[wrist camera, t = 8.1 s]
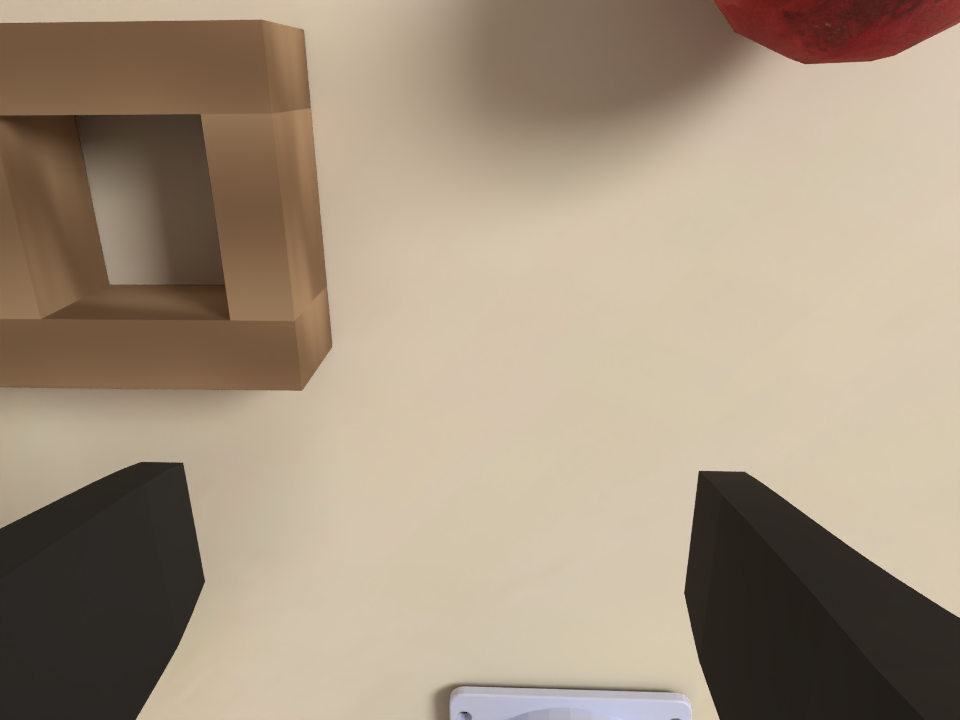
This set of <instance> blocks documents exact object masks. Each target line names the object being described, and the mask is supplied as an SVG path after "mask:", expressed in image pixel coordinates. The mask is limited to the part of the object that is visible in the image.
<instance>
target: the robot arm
mask: <svg viewBox="0 0 960 720" xmlns="http://www.w3.org/2000/svg"><path fill="white" fill-rule="evenodd" d="M204 583H205V579H204V574H203V568H202V563H201V557H200V552H199V547H198V541H197V536H196V530H195V525H194V519H193V514H192V509H191V503H190V498H189V492H188V487H187V482H186V476H185V471H184V465H183V463H166V462H140V463H137V464H135V465H132V466H129V467H127V468H124V469H122V470H119V471H117V472H115V473H113V474H110V475H108V476H106V477H104V478H102V479H100V480H97V481H95V482H93V483H91V484H89V485H87V486H85V487H83V488H81V489H79V490H77V491H75V492H73V493H71V494H69V495H67V496H65V497H63V498H61V499H59V500H57V501H55V502H53V503H51V504H49V505H47V506H45V507H43V508H41V509H39V510H37V511H35V512H33V513H31V514H29V515H27V516H25V517H23V518H21V519H19V520H17V521H15V522H13V523H11V524H9V525H7V526H5V527H3V528H1V529H0V720H136V718H137V716H138V715H139V713H140V711H141V710H142V708H143V706H144V704H145V703H146V701H147V699H148V698H149V696H150V694H151V693H152V691H153V689H154V687H155V686H156V684H157V682H158V680H159V679H160V677H161V675H162V674H163V672H164V670H165V668H166V667H167V665H168V663H169V661H170V660H171V658H172V656H173V654H174V652H175V651H176V649H177V647H178V645H179V643H180V641H181V638H182V636H183V634H184V631H185V629H186V627H187V625H188V622H189V620H190V618H191V615H192V613H193V610H194V608H195V605H196V603H197V600H198V598H199V595H200V593H201V590H202V588H203V585H204ZM684 594H685V599H686V603H687V608H688V613H689V618H690V622H691V627H692V632H693V636H694V640H695V645H696V649H697V653H698V658H699V662H700V665H701V668H702V670H703V673H704V676H705V679H706V682H707V685H708V688H709V691H710V693H711V696H712V699H713V702H714V705H715V707H716V710H717V713H718V716H719V719H720V720H960V618H959V617H957V616H955V615H954V614H952V613H950V612H949V611H947V610H946V609H944V608H942V607H941V606H939V605H938V604H936V603H934V602H933V601H931V600H930V599H928V598H927V597H925V596H923V595H922V594H920V593H919V592H917V591H916V590H914V589H912V588H911V587H909V586H908V585H906V584H905V583H903V582H901V581H900V580H898V579H897V578H895V577H894V576H892V575H891V574H889V573H888V572H886V571H885V570H883V569H882V568H880V567H879V566H877V565H876V564H874V563H873V562H871V561H870V560H868V559H867V558H866V557H864V556H863V555H861V554H860V553H858V552H857V551H855V550H854V549H853V548H851V547H850V546H848V545H847V544H846V543H844V542H843V541H841V540H840V539H838V538H837V537H836V536H834V535H833V534H831V533H830V532H829V531H827V530H826V529H825V528H823V527H822V526H820V525H819V524H818V523H816V522H815V521H814V520H812V519H811V518H809V517H808V516H807V515H805V514H804V513H803V512H801V511H800V510H799V509H797V508H796V507H794V506H793V505H792V504H790V503H789V502H788V501H786V500H785V499H784V498H782V497H781V496H779V495H778V494H777V493H775V492H774V491H773V490H771V489H770V488H768V487H767V486H765V485H764V484H763V483H761V482H760V481H758V480H757V479H755V478H754V477H752V476H750V475H749V474H747V473H746V472H725V471H699V475H698V483H697V492H696V500H695V508H694V517H693V525H692V533H691V542H690V550H689V558H688V567H687V575H686V583H685V592H684ZM463 711H465V712H468V713H461V712H463ZM691 716H692V708H691V704H690V701H689V699H688V698H687V696H685V695H683V694H680V693H669V692H636V691H602V690H569V689H536V688H503V687H470V686H463V687H458V688H456V689H454V690H453V691H452V692H451V695H450V701H449V717H450V720H671V719H674V718H678V719H676V720H691Z"/></svg>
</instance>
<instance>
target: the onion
mask: <svg viewBox="0 0 960 720" xmlns="http://www.w3.org/2000/svg"><path fill="white" fill-rule="evenodd" d="M714 1H715V3H716V4H717V6H718V7H719V9H720V10H721V12H722V13H723V15H724V16H725V18H726V19H727V21H728V22H729V24H730V25H731V27H732V28H733V30H734V31H735V32H736V33H738V34H740V35H742V36H744V37H746V38H748V39H750V40H752V41H754V42H757V43H759V44H761V45H763V46H765V47H767V48H769V49H771V50H773V51H775V52H777V53H779V54H781V55H783V56H785V57H787V58H790V59H792V60H795V61H798V62H800V63H803V64H819V63H842V62H865V61H873V60H878V59H882V58H886V57H890V56H894V55H896V54H898V53H900V52H902V51H904V50H906V49H908V48H910V47H912V46H914V45H916V44H918V43H920V42H922V41H924V40H926V39H928V38H930V37H932V36H934V35H936V34H938V33H940V32H942V31H944V30H946V29H948V28H950V27H952V26H954V25H956V24H958V23H959V22H960V0H714Z"/></svg>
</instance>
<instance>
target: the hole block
mask: <svg viewBox="0 0 960 720" xmlns="http://www.w3.org/2000/svg"><path fill="white" fill-rule="evenodd" d="M145 114H201V120H202V127H203V134H204V141H205V148H206V155H207V162H208V169H209V176H210V183H211V190H212V197H213V204H214V210H215V217H216V224H217V231H218V238H219V245H220V252H221V259H222V266H223V273H224V280H225V285H109V281H108V276H107V272H106V267H105V262H104V257H103V252H102V247H101V243H100V238H99V233H98V228H97V223H96V218H95V213H94V209H93V204H92V199H91V194H90V189H89V184H88V180H87V175H86V170H85V165H84V160H83V155H82V150H81V146H80V141H79V136H78V131H77V126H76V121H75V117H74V115H145ZM331 348H332V338H331V327H330V316H329V305H328V294H327V283H326V272H325V260H324V249H323V238H322V227H321V216H320V205H319V194H318V183H317V172H316V161H315V150H314V139H313V128H312V117H311V105H310V94H309V83H308V72H307V61H306V50H305V39H304V30H303V29H298V28H294V27H290V26H286V25H281V24H277V23H273V22H269V21H264V20H211V21H134V22H57V23H0V387H28V388H117V389H206V390H295V391H302V390H303V389H304V387H305V386H306V384H307V383H308V381H309V380H310V378H311V377H312V376H313V374H314V373H315V371H316V370H317V368H318V367H319V365H320V364H321V362H322V361H323V359H324V358H325V357H326V355H327V354H328V352H329V351H330V349H331Z"/></svg>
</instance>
